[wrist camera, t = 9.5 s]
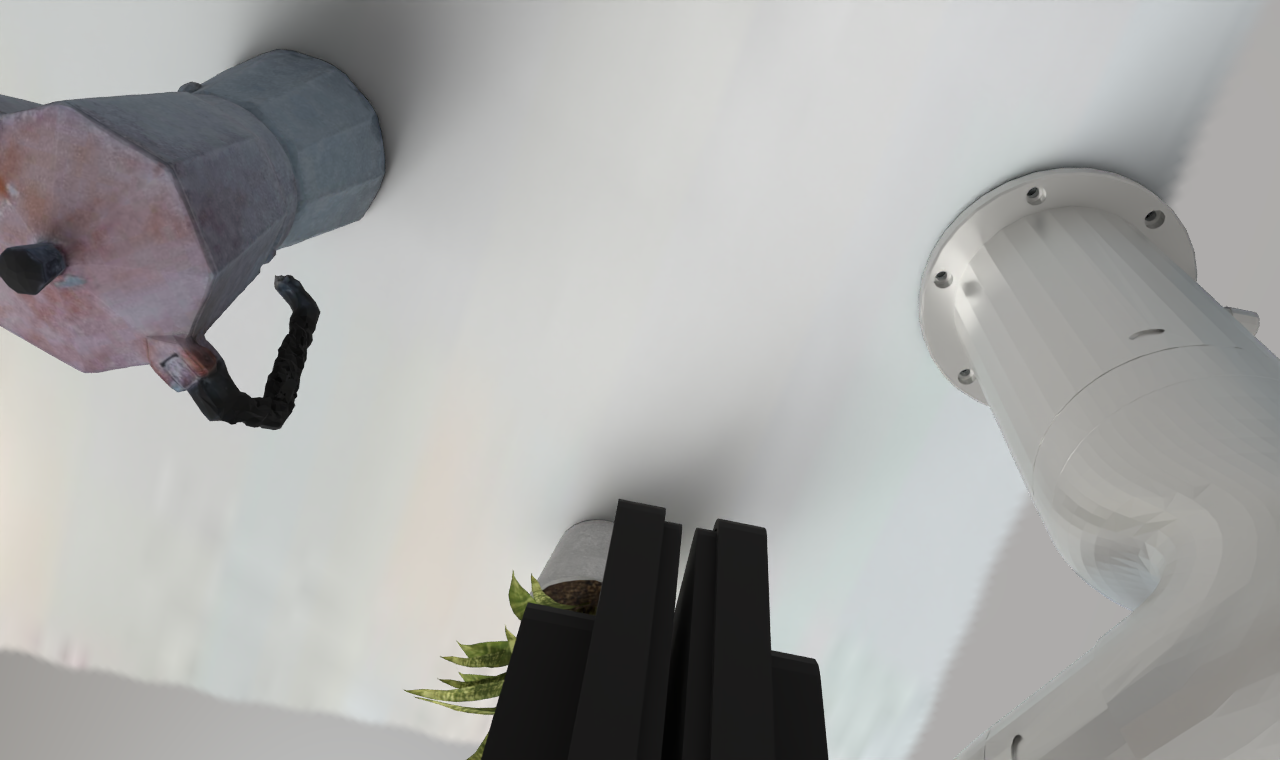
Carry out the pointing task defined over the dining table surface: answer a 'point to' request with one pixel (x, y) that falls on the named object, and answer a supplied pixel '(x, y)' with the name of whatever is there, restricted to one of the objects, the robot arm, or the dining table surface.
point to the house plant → (560, 585)
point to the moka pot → (179, 218)
